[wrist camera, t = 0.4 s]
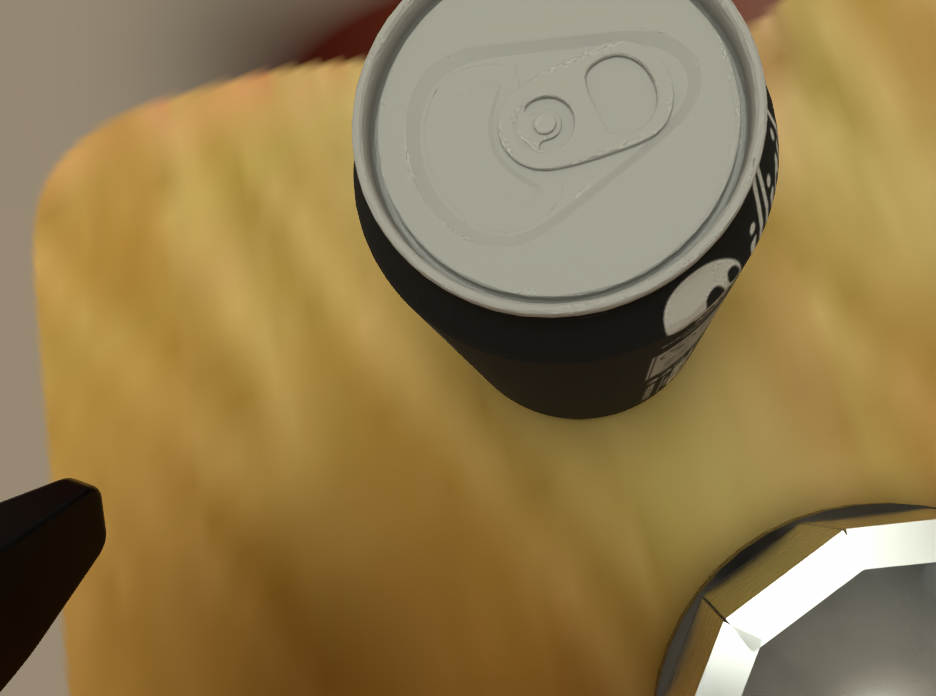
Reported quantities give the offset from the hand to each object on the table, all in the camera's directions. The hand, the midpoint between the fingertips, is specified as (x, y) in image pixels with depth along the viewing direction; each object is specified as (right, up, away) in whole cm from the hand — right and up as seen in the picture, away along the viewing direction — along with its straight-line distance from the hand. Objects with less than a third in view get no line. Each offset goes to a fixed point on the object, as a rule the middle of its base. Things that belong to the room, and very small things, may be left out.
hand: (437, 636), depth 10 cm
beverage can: (+3, +5, +14) cm, 15 cm away
